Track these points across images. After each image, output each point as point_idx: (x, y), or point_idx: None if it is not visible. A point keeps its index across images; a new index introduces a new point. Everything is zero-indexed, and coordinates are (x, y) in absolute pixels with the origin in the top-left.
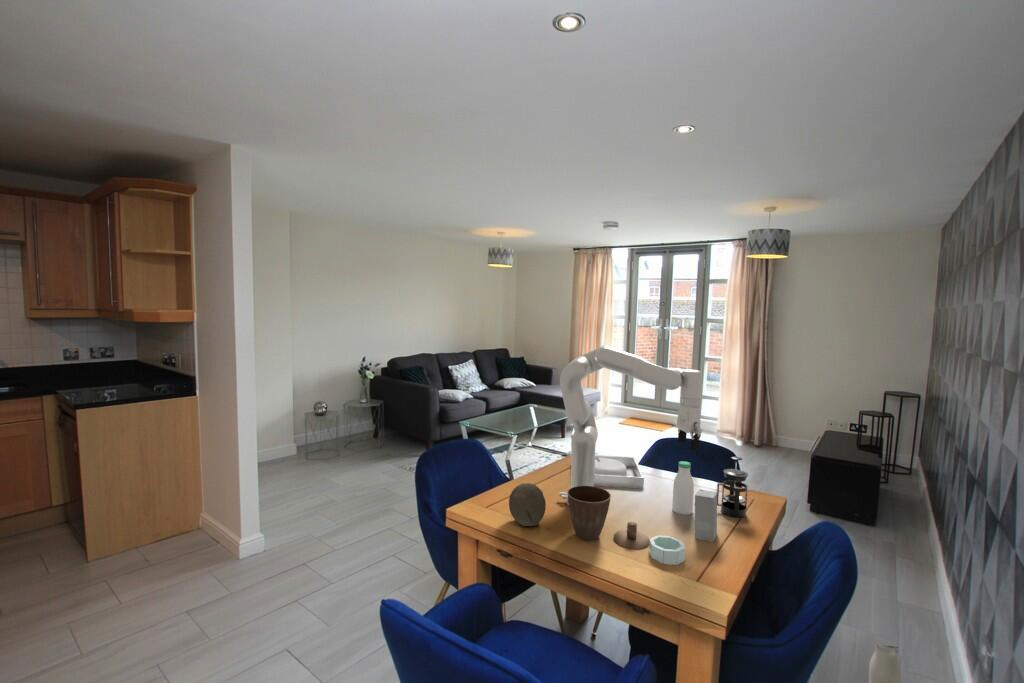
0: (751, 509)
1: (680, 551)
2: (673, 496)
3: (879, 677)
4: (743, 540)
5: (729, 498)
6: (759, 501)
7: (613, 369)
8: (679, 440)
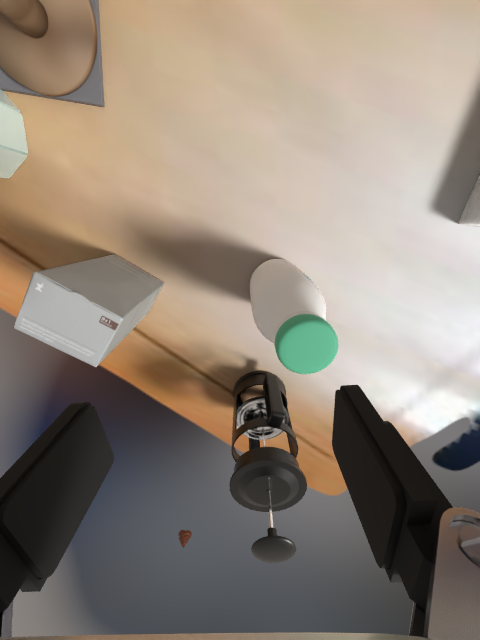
0: (281, 433)
1: None
2: (283, 265)
3: None
4: (130, 356)
5: (264, 409)
6: (319, 463)
7: None
8: (344, 405)
